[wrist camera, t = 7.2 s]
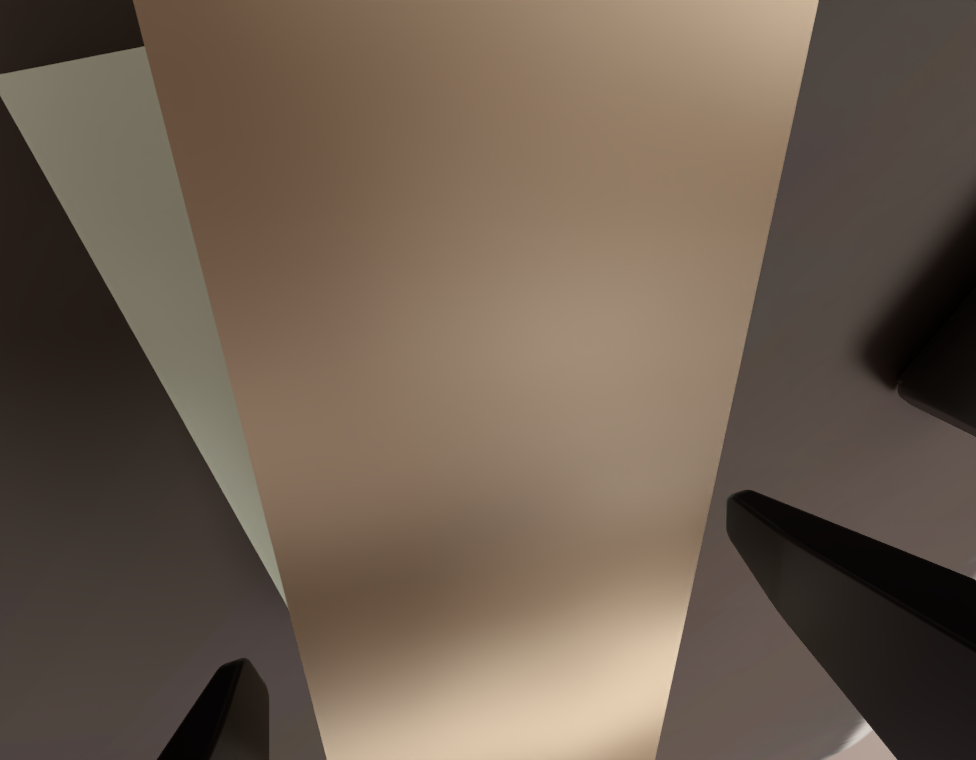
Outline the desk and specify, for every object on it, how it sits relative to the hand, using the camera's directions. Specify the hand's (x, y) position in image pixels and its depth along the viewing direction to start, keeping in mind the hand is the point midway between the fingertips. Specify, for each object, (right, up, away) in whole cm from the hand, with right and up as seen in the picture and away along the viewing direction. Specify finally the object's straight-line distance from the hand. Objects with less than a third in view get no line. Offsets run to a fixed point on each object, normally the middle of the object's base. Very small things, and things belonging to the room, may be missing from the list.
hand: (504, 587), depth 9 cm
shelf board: (-1, +1, +2) cm, 2 cm away
